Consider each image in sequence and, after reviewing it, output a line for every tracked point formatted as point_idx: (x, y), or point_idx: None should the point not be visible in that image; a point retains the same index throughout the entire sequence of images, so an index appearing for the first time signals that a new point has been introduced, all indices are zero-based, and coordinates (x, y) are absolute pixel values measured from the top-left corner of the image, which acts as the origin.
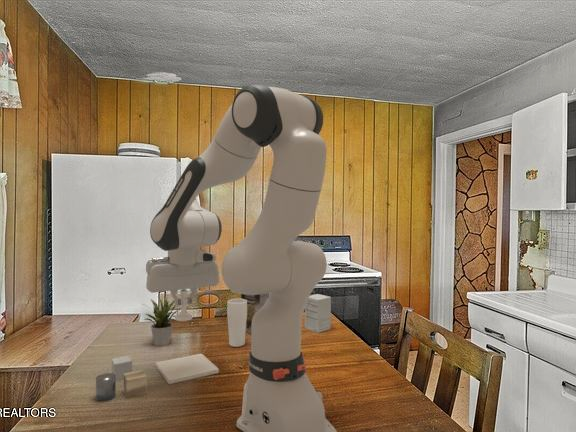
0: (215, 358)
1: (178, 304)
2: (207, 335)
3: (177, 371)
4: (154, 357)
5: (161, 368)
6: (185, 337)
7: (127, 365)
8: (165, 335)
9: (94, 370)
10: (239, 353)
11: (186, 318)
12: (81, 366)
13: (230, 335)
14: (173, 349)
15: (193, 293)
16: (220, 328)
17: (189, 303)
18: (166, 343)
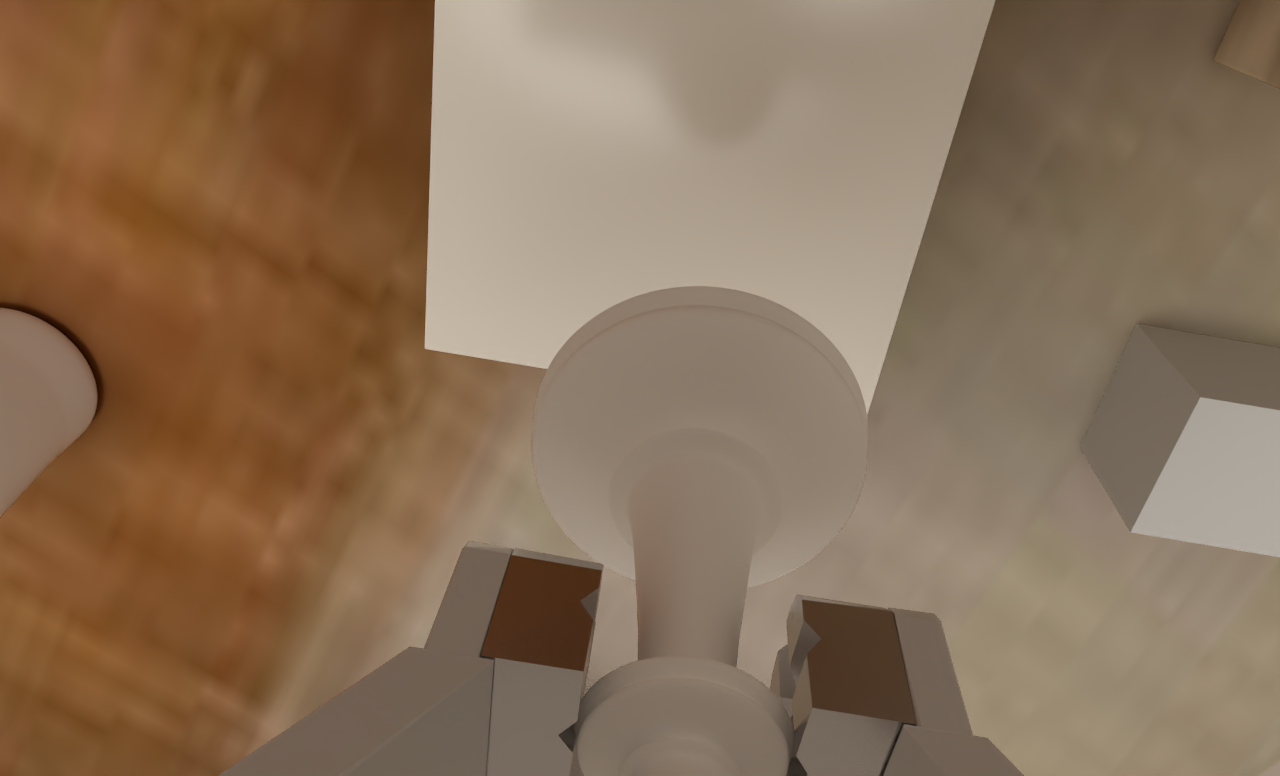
0: (333, 213)
1: (881, 618)
2: (210, 687)
3: (822, 96)
4: None
5: (898, 266)
6: None
7: (1228, 386)
8: (579, 771)
9: (1251, 614)
10: (71, 169)
11: (724, 312)
12: (1265, 724)
13: (32, 427)
14: None
15: (373, 773)
16: (61, 743)
17: (576, 561)
18: None
